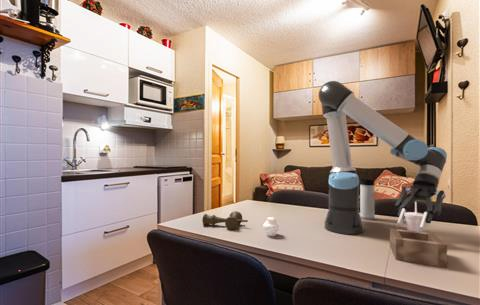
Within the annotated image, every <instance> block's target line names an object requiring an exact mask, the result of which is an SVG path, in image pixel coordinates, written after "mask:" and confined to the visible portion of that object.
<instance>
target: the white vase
mask: <svg viewBox="0 0 480 305" xmlns="http://www.w3.org/2000/svg"><path fill="white" fill-rule="evenodd" d="M262 226H263V230H264V232H265V234H266V236H268V237H275V236H276V235H277V233H278V231H279V228H280V224H279V223H278V222H277V219H276V218H275V217H272V216H269V217H267V218H266V221H265V222H264V223H263V225H262Z"/></svg>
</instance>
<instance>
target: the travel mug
mask: <svg viewBox="0 0 480 305" xmlns="http://www.w3.org/2000/svg"><path fill="white" fill-rule="evenodd" d="M359 192H360V193H359V208H360V210H359V214H360V217H361V220H365V221H366V220H367V221H374V220H375V215H376V214H375V202H376V201H375V200H376V199H375V194H376V193H375V180H374V179H369V178H363V177H360V178H359Z"/></svg>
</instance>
